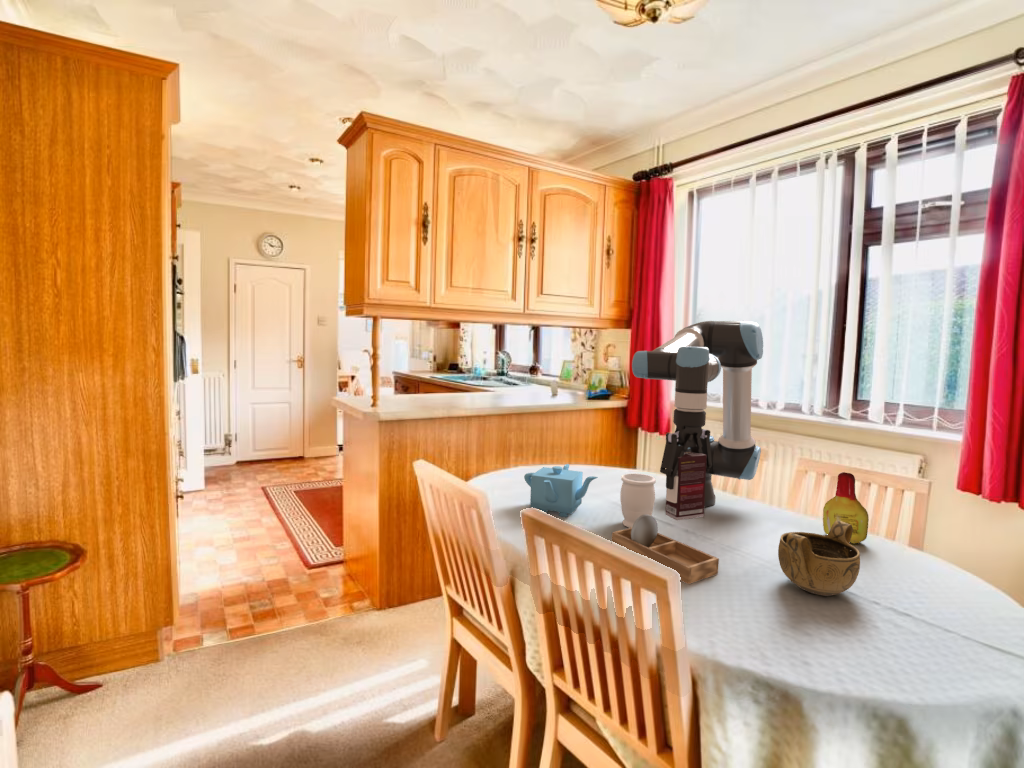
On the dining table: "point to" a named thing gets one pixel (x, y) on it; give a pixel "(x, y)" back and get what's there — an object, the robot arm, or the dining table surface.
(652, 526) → the tray
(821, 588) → the ceramic bowl
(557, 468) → the teakettle
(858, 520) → the bottle
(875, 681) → the dining table surface
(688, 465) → the supplement box
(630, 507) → the jar
